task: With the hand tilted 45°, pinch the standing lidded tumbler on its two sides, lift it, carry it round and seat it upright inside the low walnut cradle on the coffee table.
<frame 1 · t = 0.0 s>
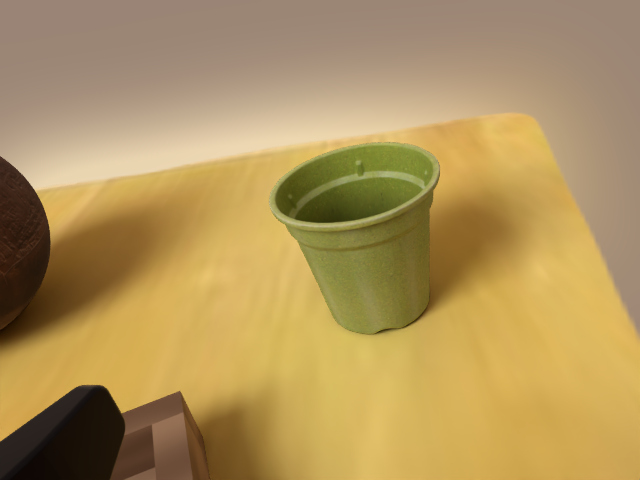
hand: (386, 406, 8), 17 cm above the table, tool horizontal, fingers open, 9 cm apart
plant pot: (379, 305, 37), on the table
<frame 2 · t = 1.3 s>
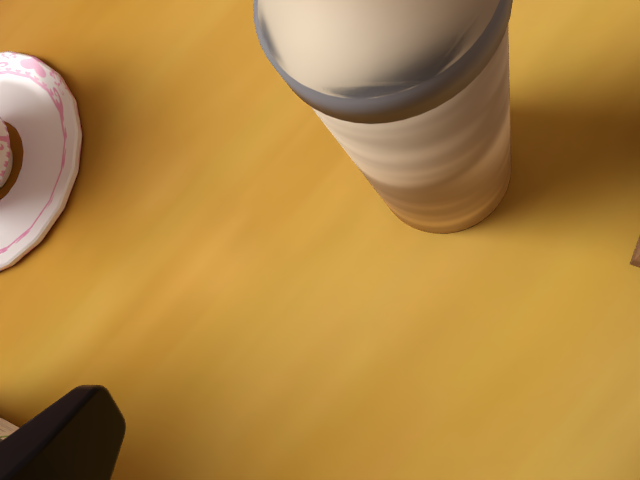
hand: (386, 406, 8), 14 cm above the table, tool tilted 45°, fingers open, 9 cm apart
lidded tumbler: (442, 170, 23), on the table
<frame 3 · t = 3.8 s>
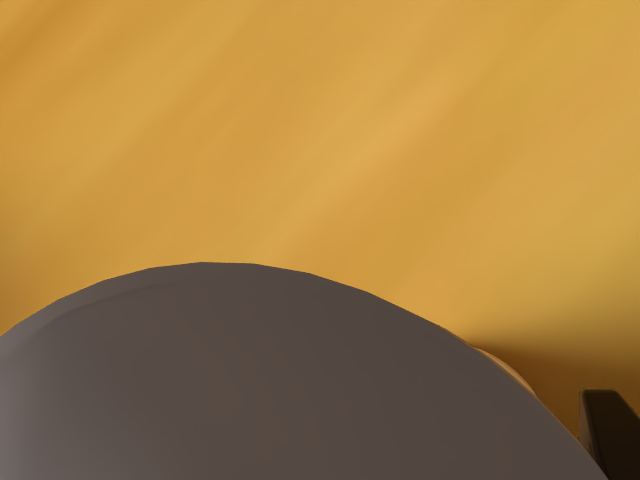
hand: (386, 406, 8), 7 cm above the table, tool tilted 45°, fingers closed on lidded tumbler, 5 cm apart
lidded tumbler: (444, 448, 14), on the table, touching gripper
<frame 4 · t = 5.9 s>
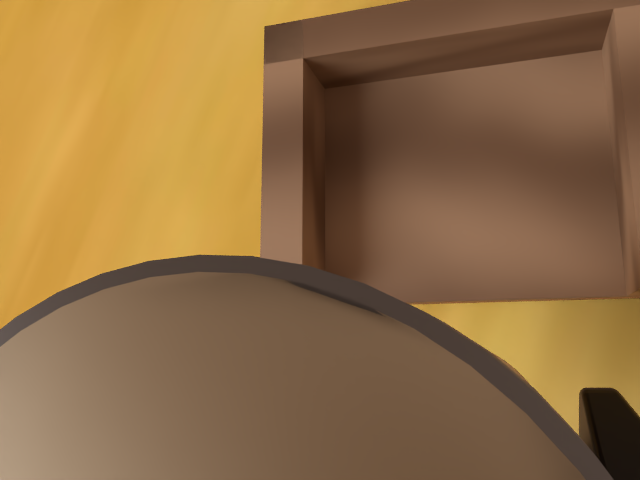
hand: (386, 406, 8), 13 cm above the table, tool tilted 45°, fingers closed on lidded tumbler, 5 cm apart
cradle: (460, 167, 22), on the table
lidded tumbler: (443, 446, 14), point 7 cm above the table, touching gripper
when the fingers open (9 cm above the table, at t = 8.4 s): lidded tumbler drops 1 cm, resting on cradle.
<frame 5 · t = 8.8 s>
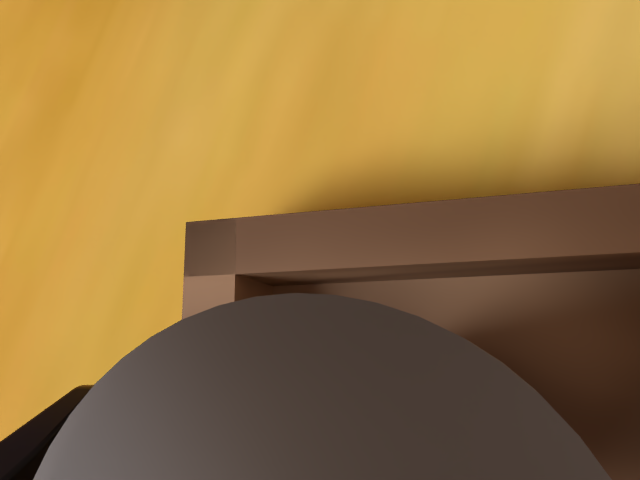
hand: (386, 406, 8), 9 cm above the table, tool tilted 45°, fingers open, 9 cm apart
cradle: (450, 407, 16), on the table
lidded tumbler: (447, 442, 16), point 1 cm above the table, touching cradle
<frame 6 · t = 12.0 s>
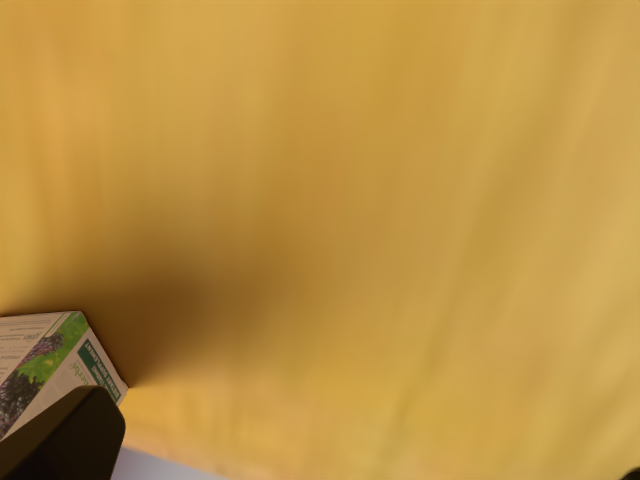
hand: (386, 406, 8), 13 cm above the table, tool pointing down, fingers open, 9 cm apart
syrup box: (64, 350, 31), on the table
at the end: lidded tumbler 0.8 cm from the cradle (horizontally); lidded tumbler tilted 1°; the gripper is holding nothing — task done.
